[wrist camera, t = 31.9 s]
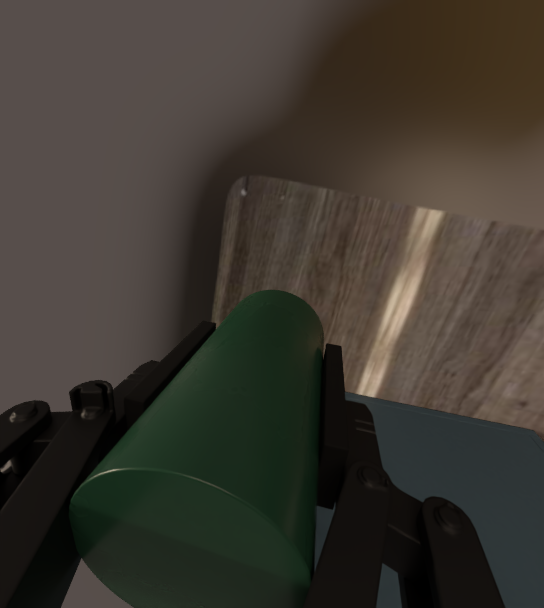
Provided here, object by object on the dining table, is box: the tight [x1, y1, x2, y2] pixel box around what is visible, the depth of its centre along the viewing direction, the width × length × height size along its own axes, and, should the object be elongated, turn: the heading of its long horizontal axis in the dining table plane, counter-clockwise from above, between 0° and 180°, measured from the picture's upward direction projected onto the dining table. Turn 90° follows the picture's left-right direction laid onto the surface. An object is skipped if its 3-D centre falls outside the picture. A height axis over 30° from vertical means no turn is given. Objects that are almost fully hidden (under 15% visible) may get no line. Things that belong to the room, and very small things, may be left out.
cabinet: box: [314, 392, 544, 608], centre depth 23 cm, size 18×26×27 cm
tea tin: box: [68, 290, 324, 608], centre depth 12 cm, size 6×6×12 cm
